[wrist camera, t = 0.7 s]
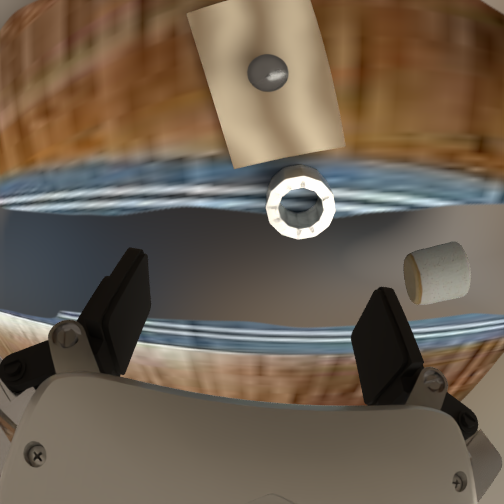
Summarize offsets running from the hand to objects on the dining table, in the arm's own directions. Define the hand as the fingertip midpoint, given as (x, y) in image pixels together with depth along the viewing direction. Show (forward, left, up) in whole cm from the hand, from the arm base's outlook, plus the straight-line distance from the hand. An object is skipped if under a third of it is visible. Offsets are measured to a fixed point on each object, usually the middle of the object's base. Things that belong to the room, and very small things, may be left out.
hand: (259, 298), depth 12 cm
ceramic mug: (-19, +20, -23) cm, 36 cm away
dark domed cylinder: (-2, -8, -21) cm, 23 cm away
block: (-2, -8, -23) cm, 25 cm away
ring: (-2, +6, -23) cm, 24 cm away
